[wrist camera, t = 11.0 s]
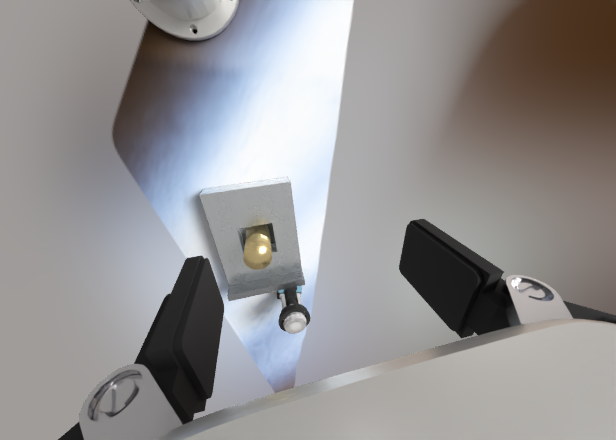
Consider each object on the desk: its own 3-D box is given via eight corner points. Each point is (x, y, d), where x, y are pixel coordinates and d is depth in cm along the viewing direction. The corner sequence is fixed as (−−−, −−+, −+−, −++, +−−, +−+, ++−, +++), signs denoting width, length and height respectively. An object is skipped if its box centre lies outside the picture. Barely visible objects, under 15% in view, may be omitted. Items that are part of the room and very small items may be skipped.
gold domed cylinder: (244, 223, 37) (240, 249, 30) (267, 219, 38) (269, 244, 30) (248, 243, 39) (246, 272, 32) (271, 239, 39) (274, 266, 32)
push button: (267, 295, 45) (269, 339, 36) (269, 274, 42) (272, 315, 34) (299, 294, 46) (308, 336, 37) (302, 273, 44) (313, 313, 35)
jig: (203, 188, 33) (194, 201, 28) (287, 176, 35) (292, 186, 30) (232, 279, 41) (229, 301, 36) (299, 265, 43) (304, 284, 38)
